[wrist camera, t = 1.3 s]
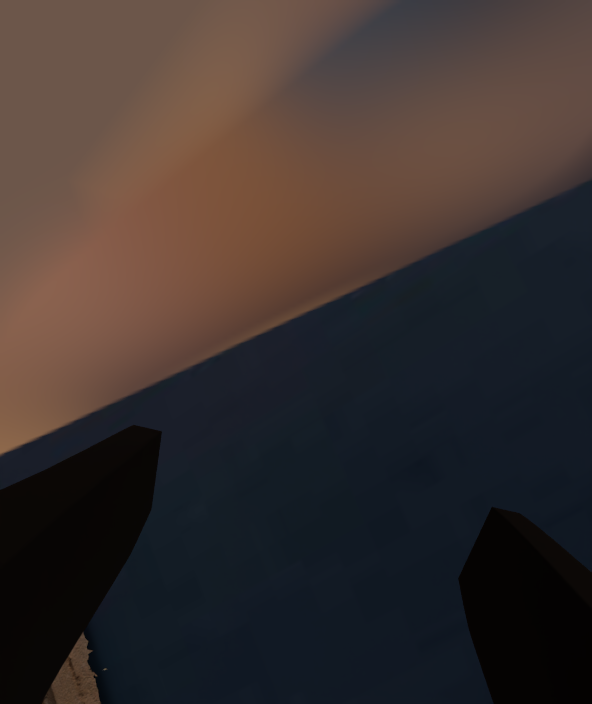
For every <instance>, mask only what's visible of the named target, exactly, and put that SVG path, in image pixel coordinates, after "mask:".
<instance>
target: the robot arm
mask: <svg viewBox="0 0 592 704" xmlns="http://www.w3.org/2000/svg"><path fill="white" fill-rule="evenodd" d="M161 434H162V431H158V430H153V429H149V428H145V427H140V426H136V425H133V426H130V427H128V428H126V429H124V430H122V431H120V432H118V433H116V434H114V435H113V436H111V437H109V438H107V439H105V440H103V441H101V442H99V443H97V444H95V445H93V446H91V447H90V448H88V449H86V450H84V451H82V452H80V453H78V454H76V455H74V456H72V457H70V458H68V459H66V460H64V461H62V462H60V463H58V464H56V465H54V466H52V467H50V468H48V469H46V470H44V471H42V472H39V473H37V474H35V475H33V476H31V477H28V478H26V479H24V480H22V481H20V482H17V483H15V484H13V485H11V486H9V487H6V488H4V489H2V490H0V704H41V703H42V701H43V699H44V697H45V696H46V694H47V692H48V690H49V688H50V687H51V685H52V683H53V681H54V680H55V678H56V676H57V674H58V673H59V671H60V669H61V667H62V666H63V664H64V662H65V661H66V659H67V658H68V656H69V654H70V653H71V651H72V649H73V648H74V646H75V645H76V643H77V641H78V640H79V638H80V636H81V635H82V633H83V631H84V630H85V628H86V627H87V625H88V623H89V622H90V620H91V618H92V617H93V615H94V614H95V612H96V610H97V609H98V607H99V605H100V604H101V602H102V600H103V599H104V597H105V596H106V594H107V592H108V591H109V589H110V587H111V586H112V584H113V582H114V581H115V579H116V577H117V576H118V574H119V572H120V571H121V569H122V568H123V566H124V564H125V563H126V561H127V559H128V557H129V556H130V554H131V552H132V550H133V548H134V546H135V544H136V542H137V539H138V537H139V535H140V533H141V531H142V529H143V527H144V524H145V522H146V520H147V518H148V516H149V513H150V511H151V508H152V501H153V494H154V486H155V479H156V471H157V464H158V456H159V449H160V442H161ZM458 579H459V584H460V590H461V595H462V600H463V605H464V610H465V614H466V618H467V623H468V627H469V631H470V634H471V637H472V640H473V644H474V647H475V650H476V653H477V656H478V659H479V662H480V665H481V668H482V671H483V674H484V677H485V679H486V682H487V685H488V688H489V691H490V694H491V697H492V700H493V703H494V704H592V572H590V571H589V570H588V569H587V568H586V567H585V566H583V565H582V564H581V563H580V562H579V561H578V560H576V559H575V558H574V557H573V556H572V555H571V554H569V553H568V552H567V551H566V550H565V549H564V548H562V547H561V546H560V545H559V544H558V543H557V542H555V541H554V540H553V539H552V538H551V537H549V536H548V535H547V534H546V533H545V532H543V531H542V530H541V529H540V528H538V527H537V526H536V525H535V524H533V523H532V522H531V521H529V520H528V519H527V518H525V517H524V516H523V515H521V514H520V513H516V512H511V511H507V510H503V509H498V508H494V507H492V508H491V510H490V512H489V514H488V517H487V519H486V521H485V523H484V525H483V527H482V529H481V531H480V533H479V536H478V538H477V540H476V542H475V544H474V546H473V548H472V550H471V553H470V555H469V557H468V559H467V561H466V563H465V565H464V567H463V570H462V572H461V574H460V576H459V578H458Z"/></svg>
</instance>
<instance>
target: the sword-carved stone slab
mask: <svg viewBox="0 0 592 704" xmlns="http://www.w3.org/2000/svg"><path fill="white" fill-rule="evenodd" d="M87 644H88V641H87V640H86V638H85V636H84V634H83V633H82V635H81V636H80V638H79V640H78V641H77V643H76V645H75V646H74V648H73V649H72V651H71V653H70V654H69V656H68V658H67V659H66V661H65V662H64V664H63V666H62V667H61V669H60V671H59V673H58V674H57V676H56V678H55V680H54V681H53V683H52V685H51V687H50V688H49V690H48V692H47V694H46V696H45V697H44V699H43V701H42V703H41V704H101V703H100V700H99V694H98V689H97V686H96V680H95V678H94V677H93V676H94V674H95V673H94V672H92V670H89V669H90V666H89V665H88V663H87V660H88V657H89V656H88V654H89V653H90V652H92V650H88V649H87ZM104 670H106V668H105V669H104ZM95 676H97V675H96V674H95Z"/></svg>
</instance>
